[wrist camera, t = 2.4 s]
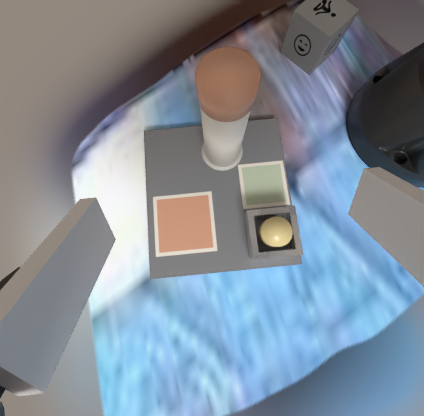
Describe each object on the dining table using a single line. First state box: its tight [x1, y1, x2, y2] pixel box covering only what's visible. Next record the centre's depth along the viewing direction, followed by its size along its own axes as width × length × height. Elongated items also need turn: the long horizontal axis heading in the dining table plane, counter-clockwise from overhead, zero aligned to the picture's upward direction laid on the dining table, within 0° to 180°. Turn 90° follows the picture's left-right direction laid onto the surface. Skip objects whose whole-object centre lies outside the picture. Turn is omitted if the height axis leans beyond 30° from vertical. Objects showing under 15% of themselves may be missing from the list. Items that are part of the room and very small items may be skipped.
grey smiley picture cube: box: [280, 0, 359, 75], centre depth 25 cm, size 5×5×5 cm
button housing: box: [244, 206, 303, 260], centre depth 21 cm, size 5×5×2 cm
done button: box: [258, 217, 293, 247], centre depth 20 cm, size 3×3×2 cm
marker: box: [196, 47, 261, 167], centre depth 19 cm, size 4×4×11 cm
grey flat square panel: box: [144, 118, 302, 279], centre depth 24 cm, size 16×17×1 cm
